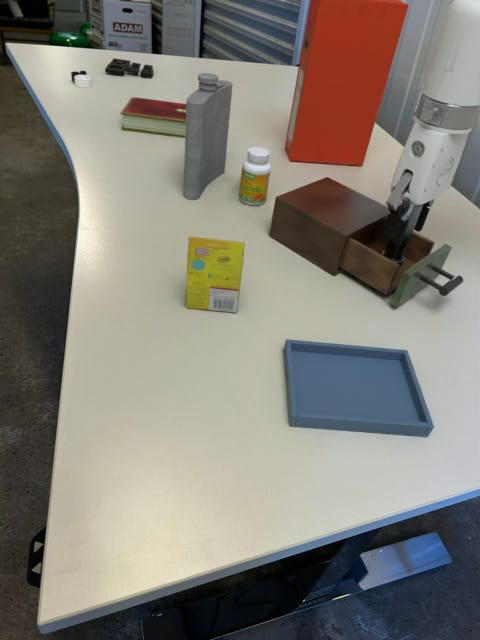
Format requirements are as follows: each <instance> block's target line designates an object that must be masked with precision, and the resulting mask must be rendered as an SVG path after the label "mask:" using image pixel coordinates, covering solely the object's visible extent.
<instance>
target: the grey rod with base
mask: <svg viewBox="0 0 480 640" xmlns="http://www.w3.org/2000/svg"><path fill="white" fill-rule="evenodd" d="M408 197H409V198H410V196H408ZM401 205H402V206H403V207H404V210H405V209H406V207H407V205H408V203H407V202H405V201H403V200H401ZM422 207H423V204H422V205H419V206H417V205H414V207H413V209H412V211H411V213H410V215H409V217H408V219H407V220H409V224H408V227H407V229H406V232H405V235H404V237H403V240H402V242H401V243H400V244H396V243H394V242H392V241H390V240H388V243H387V246H386V249H385V250H383V251H382V253H381V255H383V256H385V257H387V258H388V259H390V260H392V261H394V262H396V263H397V264H399V265H400V266H402V265H403V264H404V261H405V256H404V254H405V251H406V249H407V246H408V243H409V241H410V238H411V236H412V233H413V231H415V230H414V228H415V225H416V223H417V220H418V217H419V215H420V212H421V209H422Z"/></svg>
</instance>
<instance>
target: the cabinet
mask: <svg viewBox="0 0 480 640" xmlns="http://www.w3.org/2000/svg"><path fill="white" fill-rule="evenodd" d="M388 210H389V209H388V206H387V205H385V204H383V203H381V202H379V201H377V200H374V199H372V198H370V197H369V196H367V195H365V194H363V193H360V192H359V191H356V190H355V189H353V188H350V187H348V186H347V185H345V184H343V183H340V182H339V181H337V180H334V179H333V178H330V177H329V176H326V177H323V178H321V179H318V180H316V181H313V182H310V183H307V184H305V185H303V186H300V187H297V188H295V189H292V190H289V191H287V192H284V193H282V194H279V195H276V196H275V198H274V205H273V210H272V216H271V222H270V227H269V233H268V237H270V238H271V239H273V240H275V241H276V242H278V243H279V244H281V245H283V246H285V247H286V248H288V249H289V250H291V251H292V252H294V253H296V254H297V255H299V256H300V257H302V258H304V259H305V260H307V261H309V262H310V263H311V264H313V265H315V266H317V267H319V268H320V269H322V270H323V271H325V272H326V273H328V274H330V275H331V276H333V277H336V276H337V275H339V274H341V273H343V272H344V271H345V270H344V269H342V268H341V267H339V266H340V263H341V260H342V256H343V253H344V250H345V246H346V243H347V240H348V239H349V238H351V237H352V236H354V235H356V234H358V233H360V232H362V231H364V230H366V229H368V228H370V227H371V226H373V225H375V224H377V223H379V222H381V221H383V220H385V219H387V217H388Z"/></svg>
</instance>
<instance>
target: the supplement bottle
mask: <svg viewBox="0 0 480 640" xmlns="http://www.w3.org/2000/svg"><path fill="white" fill-rule="evenodd" d="M246 156H247V158H246V159H245V160H244V161H243V162H242V166H241V174H240V182H239V191H238V199H239V200H240V202H242V203H243V204H245V205H248V206H261V205H263V204H265V203H266V201H267V198H268V197H267V196H268V189H269V185H270V184H269V183H270V177H271V171H272V166H271V164H270V162H269V160H270V151H269V149H267V148H265V147H260V146H251V147H249V148H248V149H247V155H246Z"/></svg>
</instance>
